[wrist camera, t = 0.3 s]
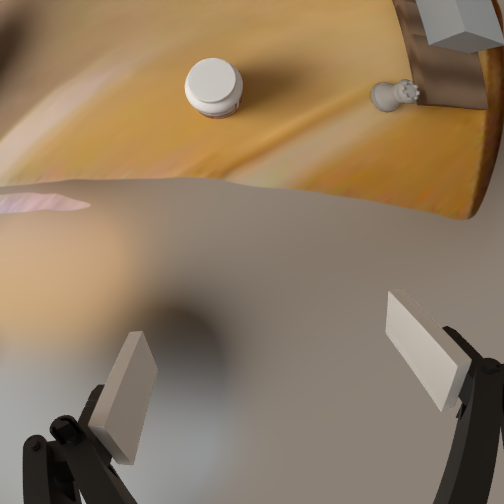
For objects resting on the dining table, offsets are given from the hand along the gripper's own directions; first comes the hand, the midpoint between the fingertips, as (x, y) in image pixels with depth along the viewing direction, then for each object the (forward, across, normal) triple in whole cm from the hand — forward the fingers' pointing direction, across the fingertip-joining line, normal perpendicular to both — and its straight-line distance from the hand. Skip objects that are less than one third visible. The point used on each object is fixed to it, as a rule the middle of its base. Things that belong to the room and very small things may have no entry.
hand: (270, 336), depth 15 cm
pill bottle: (+28, -1, +16) cm, 32 cm away
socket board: (+28, +35, +24) cm, 50 cm away
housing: (+25, +35, +28) cm, 51 cm away
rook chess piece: (+28, +22, +15) cm, 38 cm away
